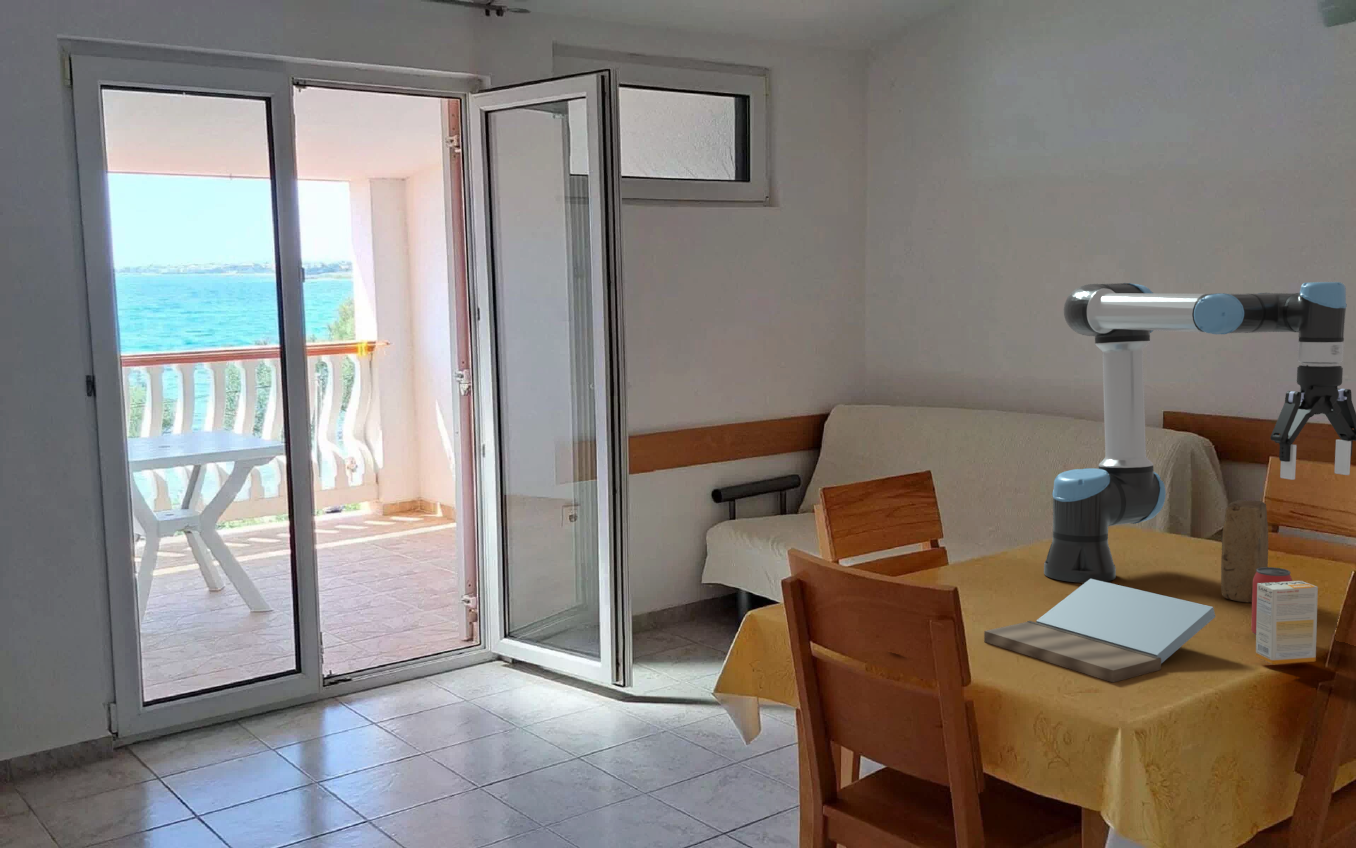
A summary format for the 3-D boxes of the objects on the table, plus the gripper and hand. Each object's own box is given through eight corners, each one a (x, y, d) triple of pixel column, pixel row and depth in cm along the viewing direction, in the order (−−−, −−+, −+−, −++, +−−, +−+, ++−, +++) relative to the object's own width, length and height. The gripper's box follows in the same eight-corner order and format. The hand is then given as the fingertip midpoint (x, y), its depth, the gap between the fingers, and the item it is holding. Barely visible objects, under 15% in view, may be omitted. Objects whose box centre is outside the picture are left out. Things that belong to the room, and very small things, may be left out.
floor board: (984, 641, 212) (984, 630, 212) (1030, 631, 218) (1030, 620, 218) (1112, 682, 188) (1113, 670, 188) (1160, 669, 194) (1161, 657, 194)
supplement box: (1298, 654, 202) (1300, 579, 200) (1316, 662, 197) (1319, 586, 196) (1253, 656, 201) (1256, 582, 199) (1270, 665, 196) (1273, 588, 195)
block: (1256, 605, 234) (1260, 507, 232) (1217, 600, 239) (1220, 503, 237) (1270, 595, 242) (1274, 499, 240) (1232, 590, 247) (1235, 496, 245)
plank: (1038, 630, 218) (1035, 620, 217) (1092, 587, 225) (1090, 578, 224) (1159, 665, 196) (1157, 655, 195) (1215, 616, 203) (1213, 607, 202)
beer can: (1289, 641, 209) (1292, 576, 208) (1249, 637, 213) (1251, 572, 211) (1292, 633, 215) (1295, 568, 213) (1253, 628, 218) (1255, 565, 217)
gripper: (1285, 367, 212) (1280, 483, 214) (1387, 363, 220) (1381, 474, 222) (1252, 365, 219) (1248, 477, 221) (1352, 361, 227) (1347, 469, 229)
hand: (1315, 476), depth 222 cm, fingers open, 13 cm apart
